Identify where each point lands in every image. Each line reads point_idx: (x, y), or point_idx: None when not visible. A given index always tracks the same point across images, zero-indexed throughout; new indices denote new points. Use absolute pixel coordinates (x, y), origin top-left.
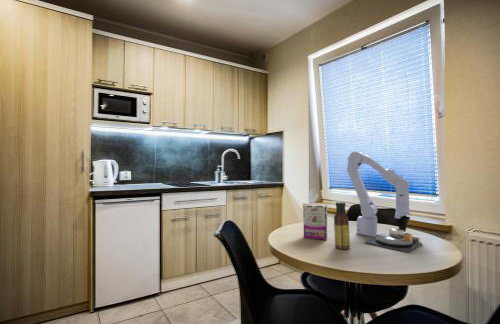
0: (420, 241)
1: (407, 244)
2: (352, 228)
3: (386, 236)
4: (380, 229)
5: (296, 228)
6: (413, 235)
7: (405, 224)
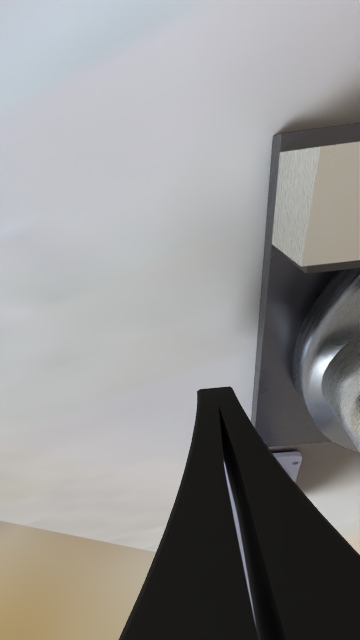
0: (298, 149)
1: None
2: None
3: None
4: (74, 494)
5: None
6: (309, 262)
7: (292, 483)
